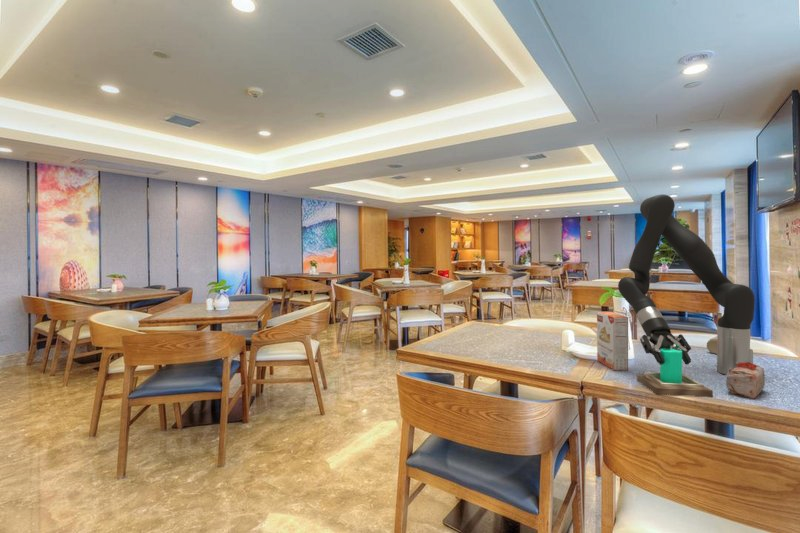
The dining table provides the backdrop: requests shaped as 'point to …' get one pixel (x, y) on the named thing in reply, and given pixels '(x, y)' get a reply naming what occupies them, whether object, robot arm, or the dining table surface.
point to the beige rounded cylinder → (712, 345)
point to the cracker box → (612, 340)
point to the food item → (745, 380)
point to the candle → (671, 366)
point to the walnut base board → (674, 386)
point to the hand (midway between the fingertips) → (675, 363)
